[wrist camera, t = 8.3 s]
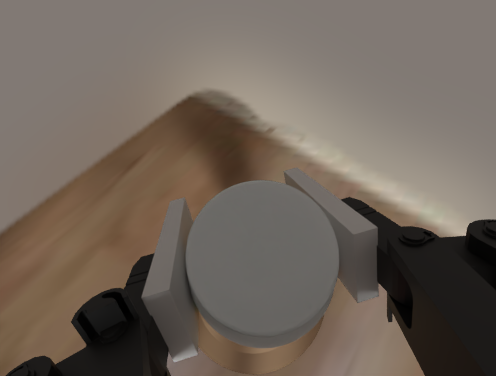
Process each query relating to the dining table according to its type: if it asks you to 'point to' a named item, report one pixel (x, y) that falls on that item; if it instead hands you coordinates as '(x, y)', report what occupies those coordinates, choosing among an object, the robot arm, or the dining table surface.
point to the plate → (250, 351)
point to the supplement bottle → (262, 263)
